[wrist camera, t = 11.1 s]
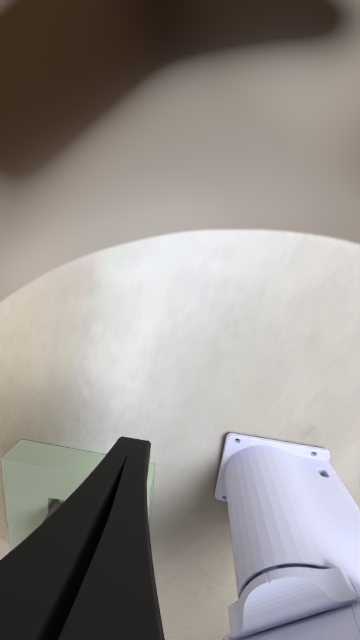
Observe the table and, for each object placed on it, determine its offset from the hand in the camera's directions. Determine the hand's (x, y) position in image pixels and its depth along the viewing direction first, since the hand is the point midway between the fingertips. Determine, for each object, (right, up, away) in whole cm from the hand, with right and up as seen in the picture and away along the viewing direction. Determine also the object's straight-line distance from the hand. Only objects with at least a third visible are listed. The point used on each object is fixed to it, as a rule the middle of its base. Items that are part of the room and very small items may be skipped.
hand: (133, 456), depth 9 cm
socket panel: (-9, -14, +15) cm, 22 cm away
